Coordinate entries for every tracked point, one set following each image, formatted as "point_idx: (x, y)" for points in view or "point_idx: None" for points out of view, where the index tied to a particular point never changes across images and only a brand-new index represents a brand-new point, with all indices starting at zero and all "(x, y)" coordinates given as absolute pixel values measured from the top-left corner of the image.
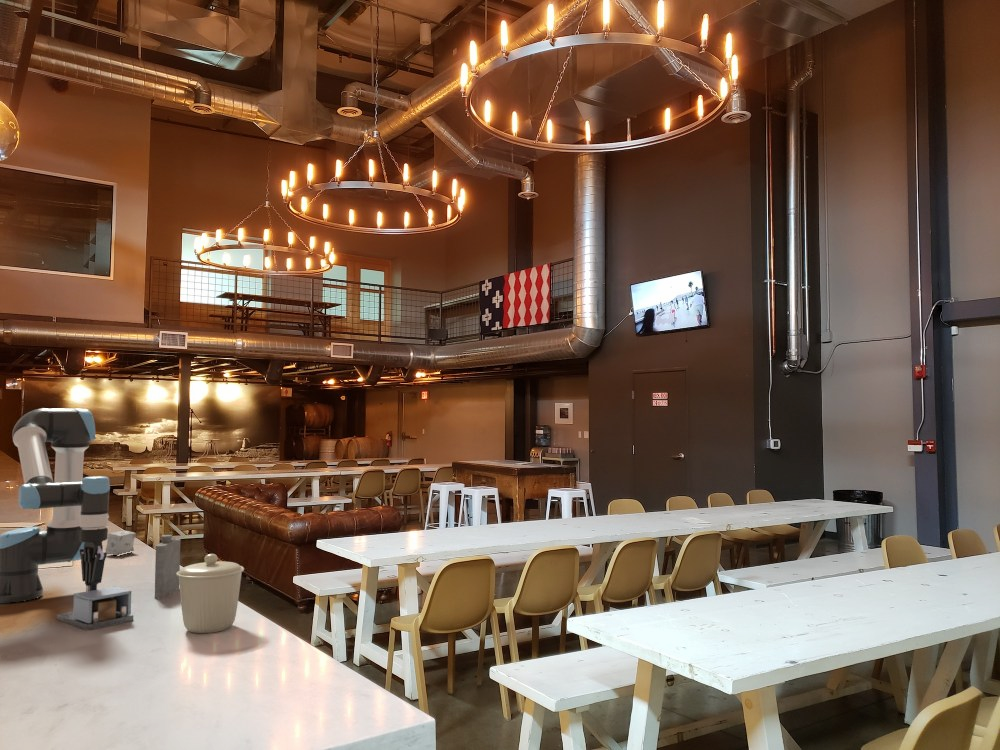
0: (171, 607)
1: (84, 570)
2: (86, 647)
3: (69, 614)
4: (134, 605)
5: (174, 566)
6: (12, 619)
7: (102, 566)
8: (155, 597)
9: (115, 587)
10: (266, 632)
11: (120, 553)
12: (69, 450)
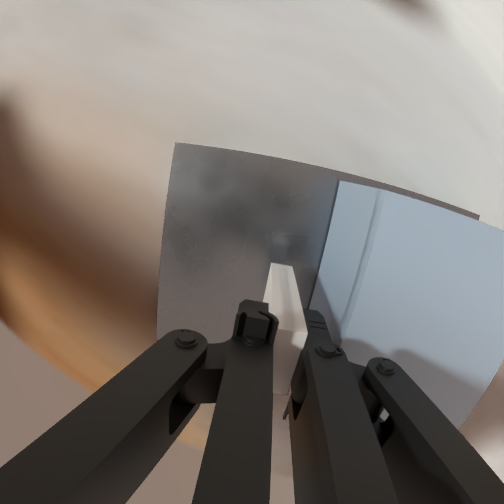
0: (418, 2)
1: (155, 459)
2: (488, 415)
3: (200, 323)
4: (235, 15)
5: None
6: (57, 362)
7: (484, 482)
8: None
9: (422, 225)
10: None
11: None
12: None
